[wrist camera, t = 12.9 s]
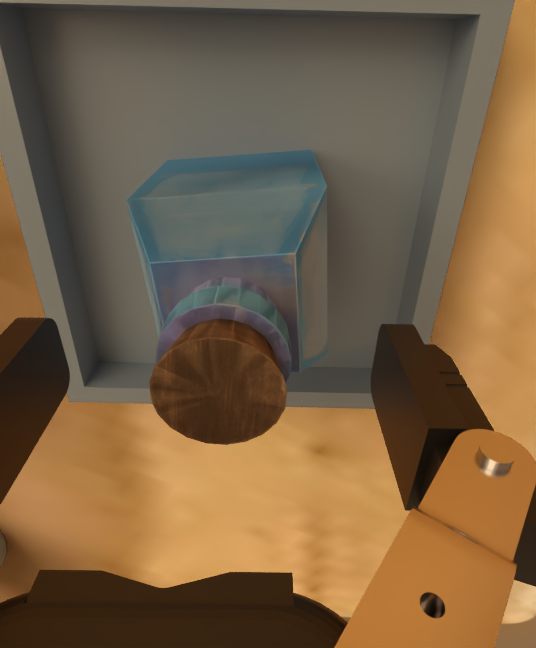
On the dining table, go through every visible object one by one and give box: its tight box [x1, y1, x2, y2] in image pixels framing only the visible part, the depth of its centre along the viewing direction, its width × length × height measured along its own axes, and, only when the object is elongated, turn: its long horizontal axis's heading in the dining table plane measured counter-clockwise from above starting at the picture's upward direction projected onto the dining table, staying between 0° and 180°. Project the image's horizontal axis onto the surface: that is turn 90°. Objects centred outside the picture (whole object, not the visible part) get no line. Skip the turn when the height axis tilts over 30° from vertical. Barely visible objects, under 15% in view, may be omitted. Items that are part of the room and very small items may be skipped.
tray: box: [0, 0, 515, 409], centre depth 20 cm, size 18×18×3 cm
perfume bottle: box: [126, 150, 328, 445], centre depth 15 cm, size 6×6×12 cm
